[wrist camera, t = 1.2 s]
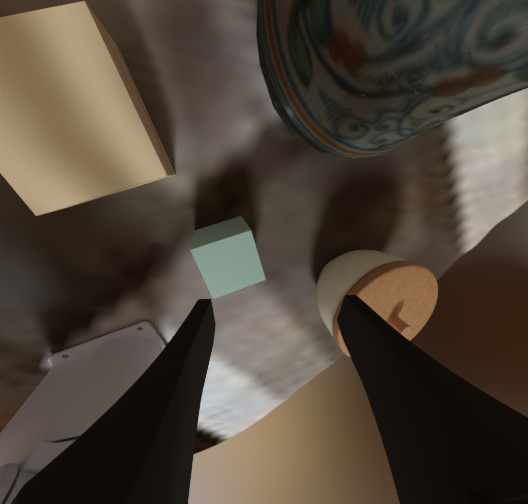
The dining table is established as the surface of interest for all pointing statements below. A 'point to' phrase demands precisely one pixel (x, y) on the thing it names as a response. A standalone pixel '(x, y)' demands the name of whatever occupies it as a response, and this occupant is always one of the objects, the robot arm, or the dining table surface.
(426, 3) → the beer stein
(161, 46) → the dining table surface
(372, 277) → the lidded jar
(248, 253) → the teal block
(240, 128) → the dining table surface
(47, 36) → the birch base block
